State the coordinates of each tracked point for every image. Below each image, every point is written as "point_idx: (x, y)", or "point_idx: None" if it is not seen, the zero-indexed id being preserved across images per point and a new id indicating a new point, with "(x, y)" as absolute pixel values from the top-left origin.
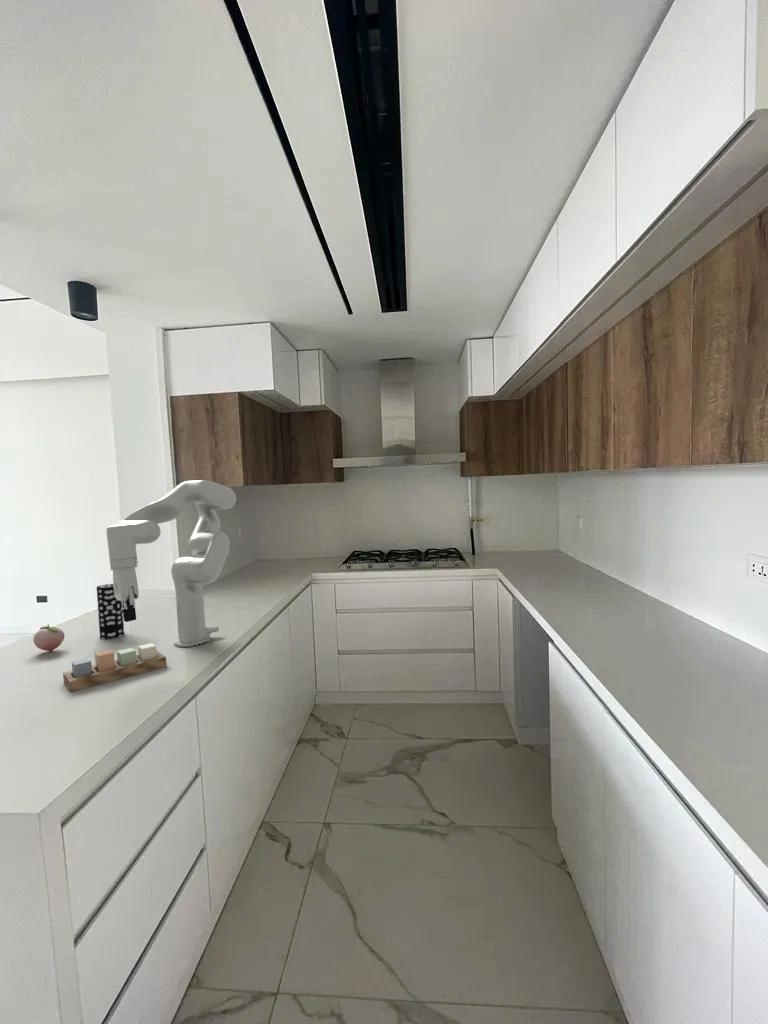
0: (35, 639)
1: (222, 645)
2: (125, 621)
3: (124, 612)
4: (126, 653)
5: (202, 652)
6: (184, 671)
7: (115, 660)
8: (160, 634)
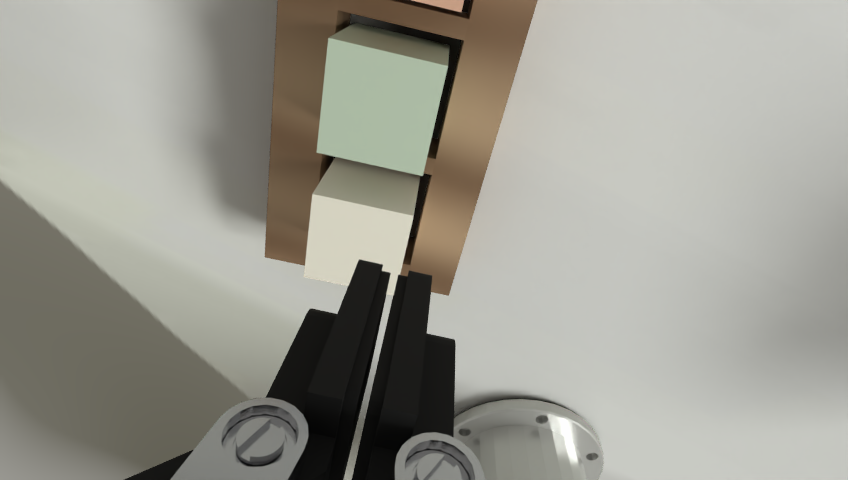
0: None
1: None
2: (361, 261)
3: (324, 353)
4: (325, 83)
5: None
6: (132, 231)
7: (500, 59)
8: (792, 458)
